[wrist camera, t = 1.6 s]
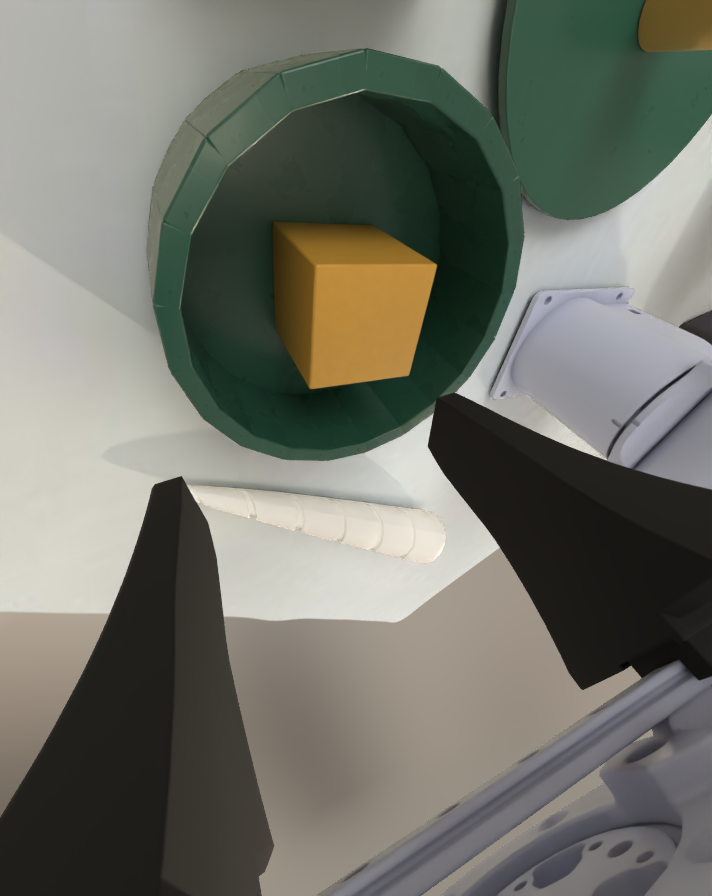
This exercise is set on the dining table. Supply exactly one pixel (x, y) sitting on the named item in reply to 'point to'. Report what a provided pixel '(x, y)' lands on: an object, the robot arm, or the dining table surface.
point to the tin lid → (601, 96)
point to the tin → (334, 202)
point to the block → (348, 301)
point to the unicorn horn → (336, 520)
